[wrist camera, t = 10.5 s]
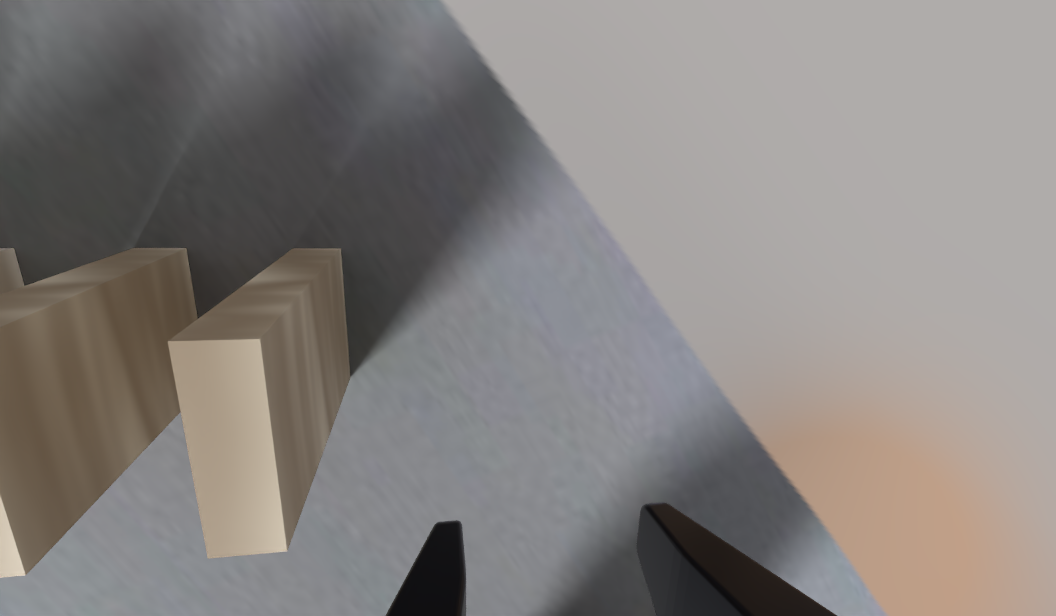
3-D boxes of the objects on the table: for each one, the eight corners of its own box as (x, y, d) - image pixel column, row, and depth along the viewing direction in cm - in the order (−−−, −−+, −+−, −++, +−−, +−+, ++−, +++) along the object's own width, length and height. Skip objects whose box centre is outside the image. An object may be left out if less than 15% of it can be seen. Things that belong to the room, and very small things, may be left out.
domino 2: (341, 248, 18) (259, 338, 10) (350, 377, 20) (287, 551, 11) (293, 248, 18) (168, 341, 10) (306, 378, 20) (207, 558, 11)
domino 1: (186, 248, 17) (-46, 347, 9) (208, 382, 19) (25, 575, 11) (133, 247, 17) (-158, 349, 9) (160, 384, 19) (-68, 583, 10)
